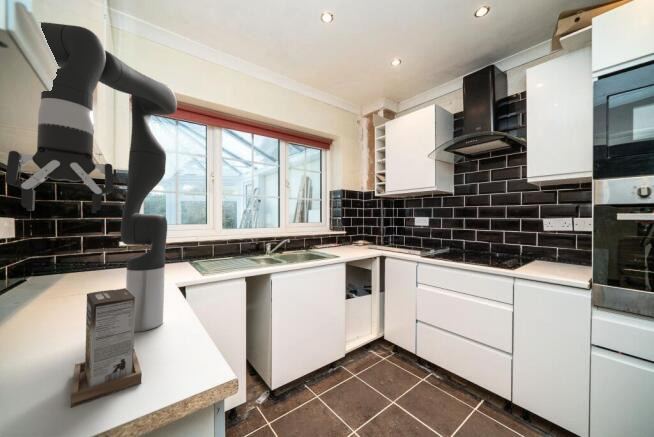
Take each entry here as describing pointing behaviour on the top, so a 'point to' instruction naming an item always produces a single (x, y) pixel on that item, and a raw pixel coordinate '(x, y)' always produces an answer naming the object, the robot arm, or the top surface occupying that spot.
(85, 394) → the shallow square tray
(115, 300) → the coffee box
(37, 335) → the top surface
